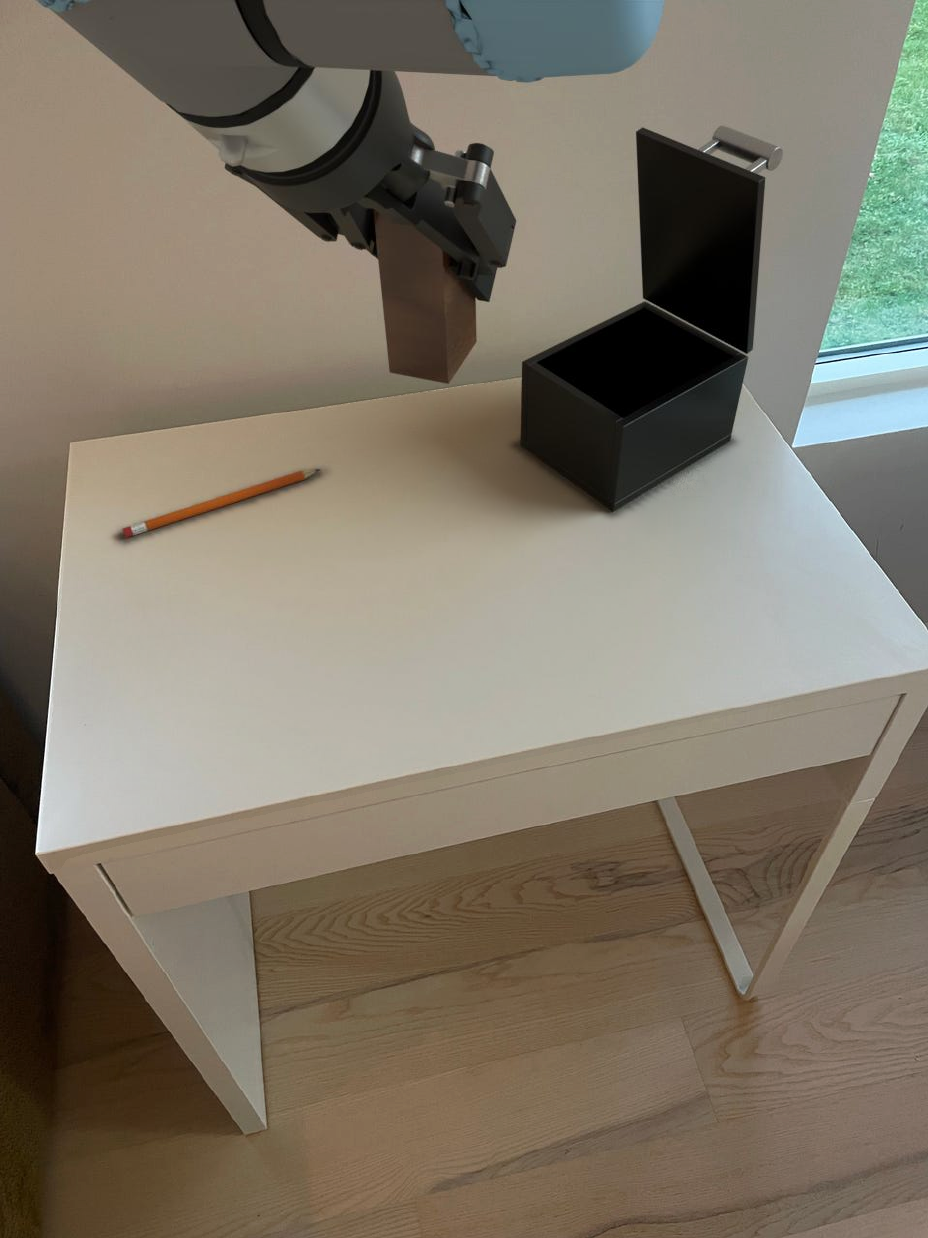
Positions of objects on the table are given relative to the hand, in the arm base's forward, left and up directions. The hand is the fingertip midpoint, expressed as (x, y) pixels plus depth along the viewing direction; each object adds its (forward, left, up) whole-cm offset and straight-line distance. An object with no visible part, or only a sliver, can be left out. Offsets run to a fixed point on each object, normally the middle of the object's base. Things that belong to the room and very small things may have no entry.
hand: (453, 273), depth 61 cm
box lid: (+14, -26, -10) cm, 32 cm away
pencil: (+17, +17, -28) cm, 37 cm away
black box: (+12, -21, -28) cm, 37 cm away
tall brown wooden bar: (-3, +2, -4) cm, 5 cm away
